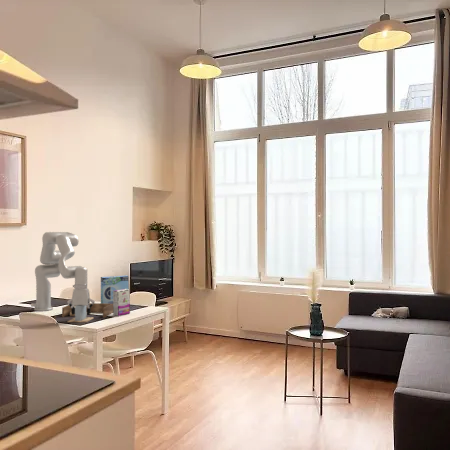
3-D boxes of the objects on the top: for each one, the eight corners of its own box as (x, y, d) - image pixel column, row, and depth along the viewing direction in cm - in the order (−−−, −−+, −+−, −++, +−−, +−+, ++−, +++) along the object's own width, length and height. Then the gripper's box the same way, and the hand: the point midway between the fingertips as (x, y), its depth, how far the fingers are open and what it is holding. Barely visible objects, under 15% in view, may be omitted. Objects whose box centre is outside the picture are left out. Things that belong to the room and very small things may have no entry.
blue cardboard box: (126, 306, 341) (126, 275, 341) (128, 307, 336) (129, 275, 336) (100, 308, 330) (100, 276, 330) (102, 309, 326) (102, 277, 326)
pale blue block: (74, 320, 285) (75, 306, 285) (81, 317, 295) (81, 303, 295) (80, 320, 285) (80, 306, 285) (86, 317, 295) (86, 303, 295)
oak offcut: (70, 316, 304) (70, 312, 304) (75, 314, 313) (75, 309, 313) (80, 316, 303) (80, 312, 303) (85, 314, 312) (85, 309, 312)
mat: (67, 322, 284) (67, 321, 284) (75, 317, 297) (75, 317, 297) (86, 322, 283) (86, 321, 283) (93, 318, 296) (93, 317, 296)
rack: (62, 316, 300) (62, 307, 300) (73, 311, 318) (73, 303, 318) (104, 317, 298) (104, 308, 298) (113, 312, 316) (113, 303, 316)
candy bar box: (124, 312, 314) (124, 288, 315) (130, 313, 312) (130, 289, 312) (112, 315, 305) (112, 290, 305) (118, 316, 302) (118, 291, 302)
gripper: (65, 287, 287) (65, 315, 287) (92, 287, 286) (92, 315, 285) (69, 286, 294) (69, 313, 294) (96, 286, 293) (96, 313, 293)
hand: (80, 314), depth 290 cm, fingers open, 9 cm apart
